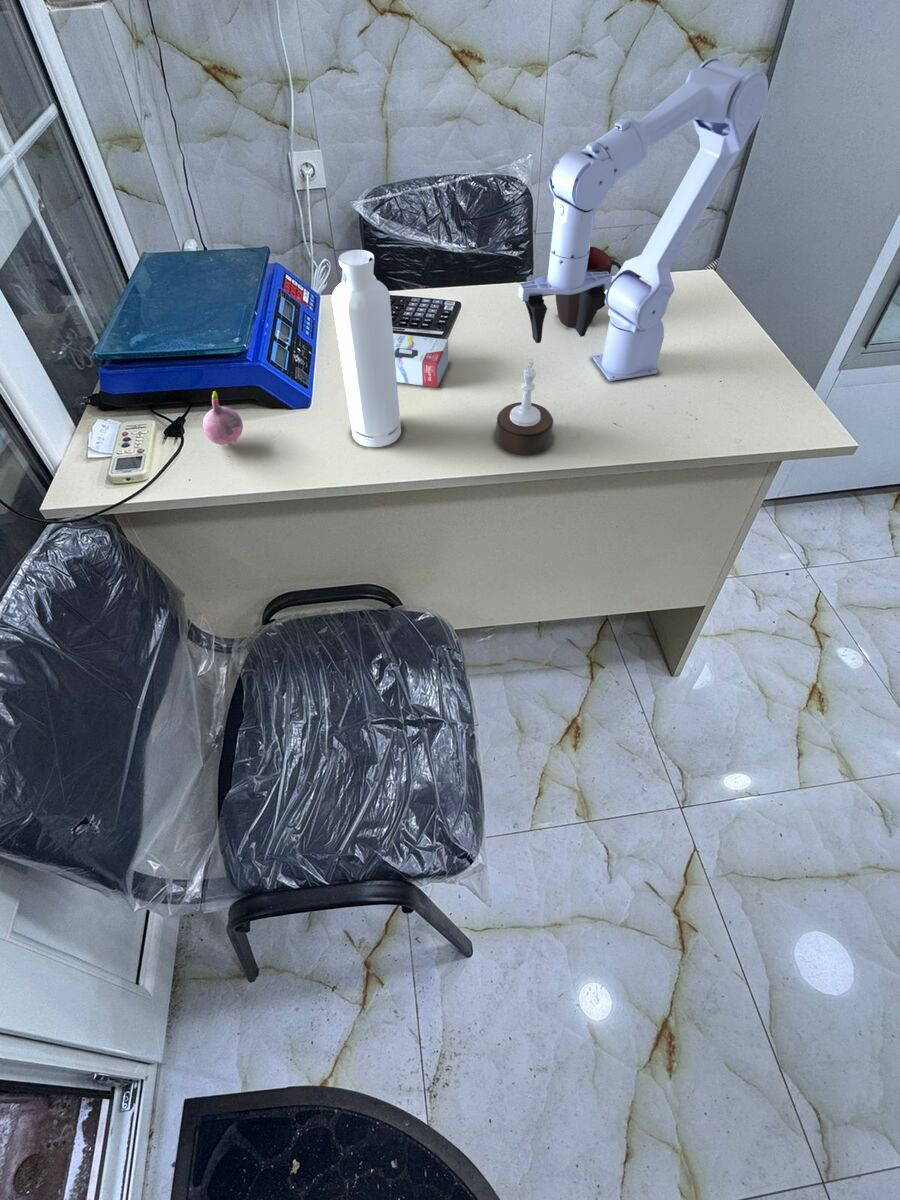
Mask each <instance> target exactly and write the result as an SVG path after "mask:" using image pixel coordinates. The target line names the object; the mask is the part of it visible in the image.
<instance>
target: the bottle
mask: <svg viewBox="0 0 900 1200" xmlns="http://www.w3.org/2000/svg"><path fill="white" fill-rule="evenodd" d="M337 258H338V265H339V266H340V268H341V269H342V271H341V282H339V283H338V284H337V285H336V287H335V288H334V290H333V291H332V295H331V304H332V308H333V309H332V310H333V316H334V324H335V328H336V329H335V330H336V336H337V341H338V342H337V343H338V349H339V355H340V362H341V367H342V368H341V369H342V375H343V382H344V387H345V394H346V400H347V401H346V402H347V407H348V413H349V420H350V424H351V425H350V426H351V433H352V437H353V439H354V440H355V442H356V443H358V444H359V445H361V446H365V447H368V448H382V447H386V446H389V445H392V444H393V443H394V442H396V441H397V440H398V439H399V438H400V437H401V433H402V429H401V428H402V426H401V414H400V401H399V391H398V382H397V377H396V365H395V352H394V340H393V333H394V329H393V319H392V305H391V295H390V291H389V289H388V288H387V286H386V285H385V284H384V283H383V282H382V281H380V280H379V279H377V277H376V275H375V274H374V268H375V255H374V254H373V252H371V251H369V250H366V249H350V250H346V251H344V252H342V253H341V254H339V256H338V257H337ZM370 259H371V260H370Z"/></svg>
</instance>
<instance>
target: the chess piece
mask: <svg viewBox="0 0 900 1200" xmlns="http://www.w3.org/2000/svg"><path fill="white" fill-rule="evenodd" d="M527 364H528V365H527V366H526V368H525V369H524V370H523V371H522V376H523V381H524V382H522V383H521V385H520V388H521V389H522V390H523V396H522V400H521V402H522V404H521V405H518V406H516V407H514V408H513V409H512V410H511V412H510V420H511V421H512V422H513V423H514V424H516V425H519V426H524V427H528V426H533V425H535V424H537V423H538V422H539V421H540V419H541V416H540V411H539V410H538V409H537V408H536V407H534V406H531V403H532V391H534V390H535V389H536V385H535V383H534V379H535V377H536V375H537V371H536V370H535V369H534V368H533V365H534V360H533V359H531V358H529V359H528V363H527Z"/></svg>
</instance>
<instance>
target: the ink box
mask: <svg viewBox="0 0 900 1200" xmlns="http://www.w3.org/2000/svg"><path fill="white" fill-rule="evenodd" d="M393 340H394V352H395V365H396V377H397V383H402V384H410V385H416V386H423V387H430V388H431V387H432V388H438V387H439V386H440V383H441V381H442V379H443V377H444V374H445V372H446V370H447V368H448V365H449V339H444V338H438V337H429V336H421V335H411V334H403V333H396V332H395V333H394V332H393Z"/></svg>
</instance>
